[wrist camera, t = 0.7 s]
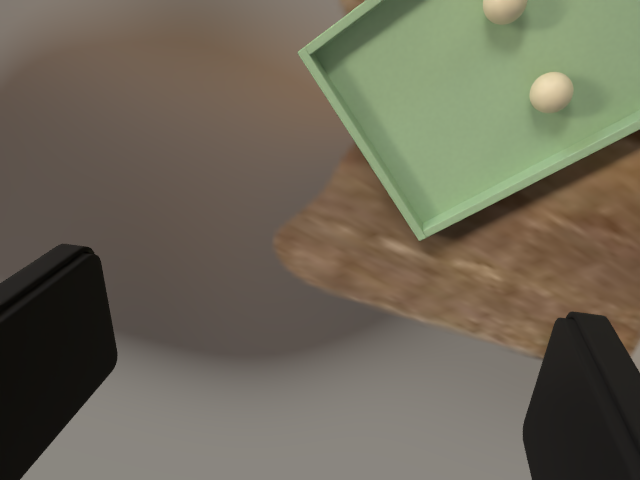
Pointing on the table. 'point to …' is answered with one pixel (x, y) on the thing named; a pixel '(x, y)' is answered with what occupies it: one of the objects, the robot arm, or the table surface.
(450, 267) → the table surface
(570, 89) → the crumb
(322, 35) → the tray
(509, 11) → the crumb
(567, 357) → the robot arm
